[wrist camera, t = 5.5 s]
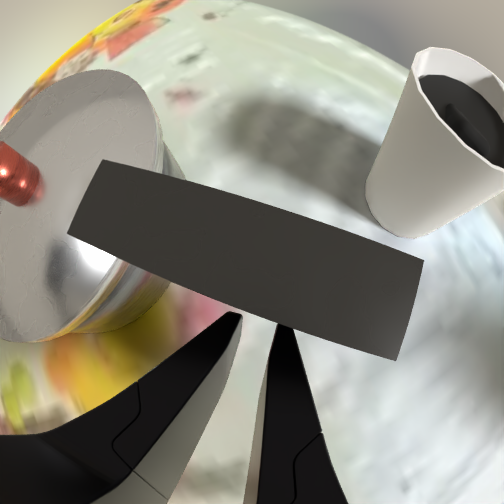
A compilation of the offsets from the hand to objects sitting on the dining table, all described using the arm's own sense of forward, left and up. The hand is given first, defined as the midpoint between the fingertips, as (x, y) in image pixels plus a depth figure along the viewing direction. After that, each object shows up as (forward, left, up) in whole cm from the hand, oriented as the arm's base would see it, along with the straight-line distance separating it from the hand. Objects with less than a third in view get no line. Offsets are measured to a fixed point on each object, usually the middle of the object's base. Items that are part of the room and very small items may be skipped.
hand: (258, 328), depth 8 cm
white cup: (+11, -3, -9) cm, 15 cm away
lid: (-1, +9, -2) cm, 10 cm away
